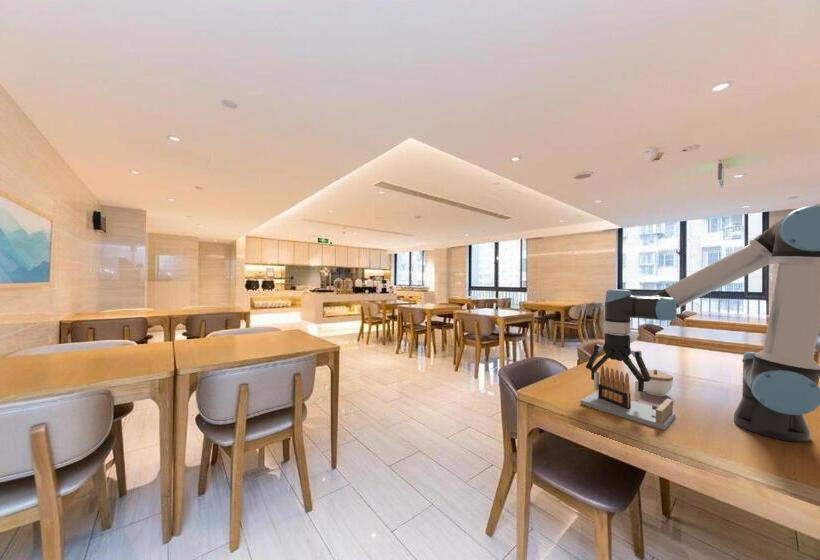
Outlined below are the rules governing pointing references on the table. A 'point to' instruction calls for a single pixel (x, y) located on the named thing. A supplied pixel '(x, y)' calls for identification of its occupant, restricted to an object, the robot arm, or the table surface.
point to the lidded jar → (658, 383)
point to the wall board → (636, 411)
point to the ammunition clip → (614, 388)
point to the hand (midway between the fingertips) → (616, 394)
